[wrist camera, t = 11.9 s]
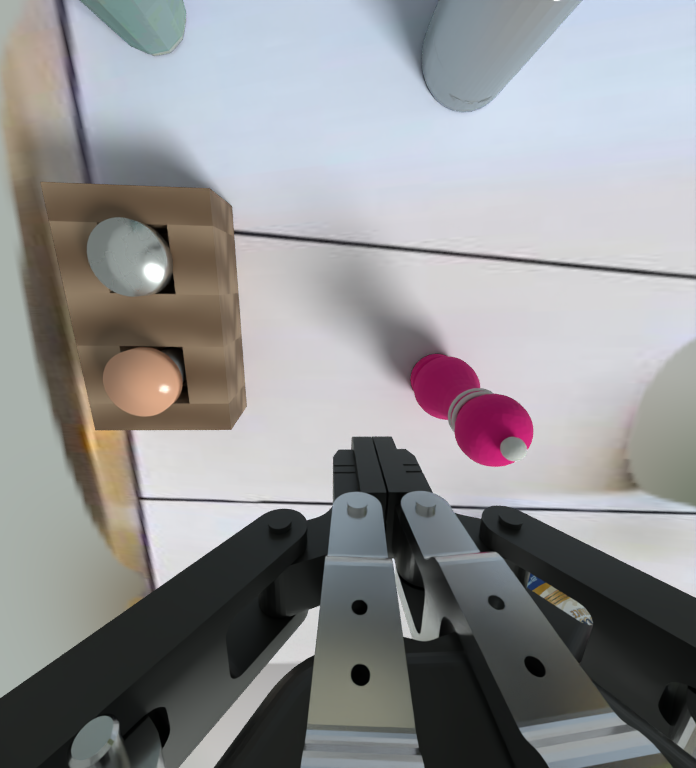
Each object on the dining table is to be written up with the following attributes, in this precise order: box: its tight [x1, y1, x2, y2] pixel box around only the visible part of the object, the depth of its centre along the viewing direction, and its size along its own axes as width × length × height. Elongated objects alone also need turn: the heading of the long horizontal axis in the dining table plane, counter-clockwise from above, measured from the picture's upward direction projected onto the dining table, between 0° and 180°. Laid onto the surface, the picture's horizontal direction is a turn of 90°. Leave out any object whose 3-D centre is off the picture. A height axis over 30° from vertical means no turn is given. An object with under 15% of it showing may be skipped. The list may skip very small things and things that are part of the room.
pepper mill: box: [410, 354, 533, 467], centre depth 33 cm, size 7×7×20 cm
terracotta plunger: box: [103, 347, 187, 416], centre depth 34 cm, size 6×6×7 cm
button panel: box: [40, 182, 247, 430], centre depth 35 cm, size 23×14×7 cm, turn 179°
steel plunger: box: [87, 217, 174, 297], centre depth 32 cm, size 6×6×7 cm
